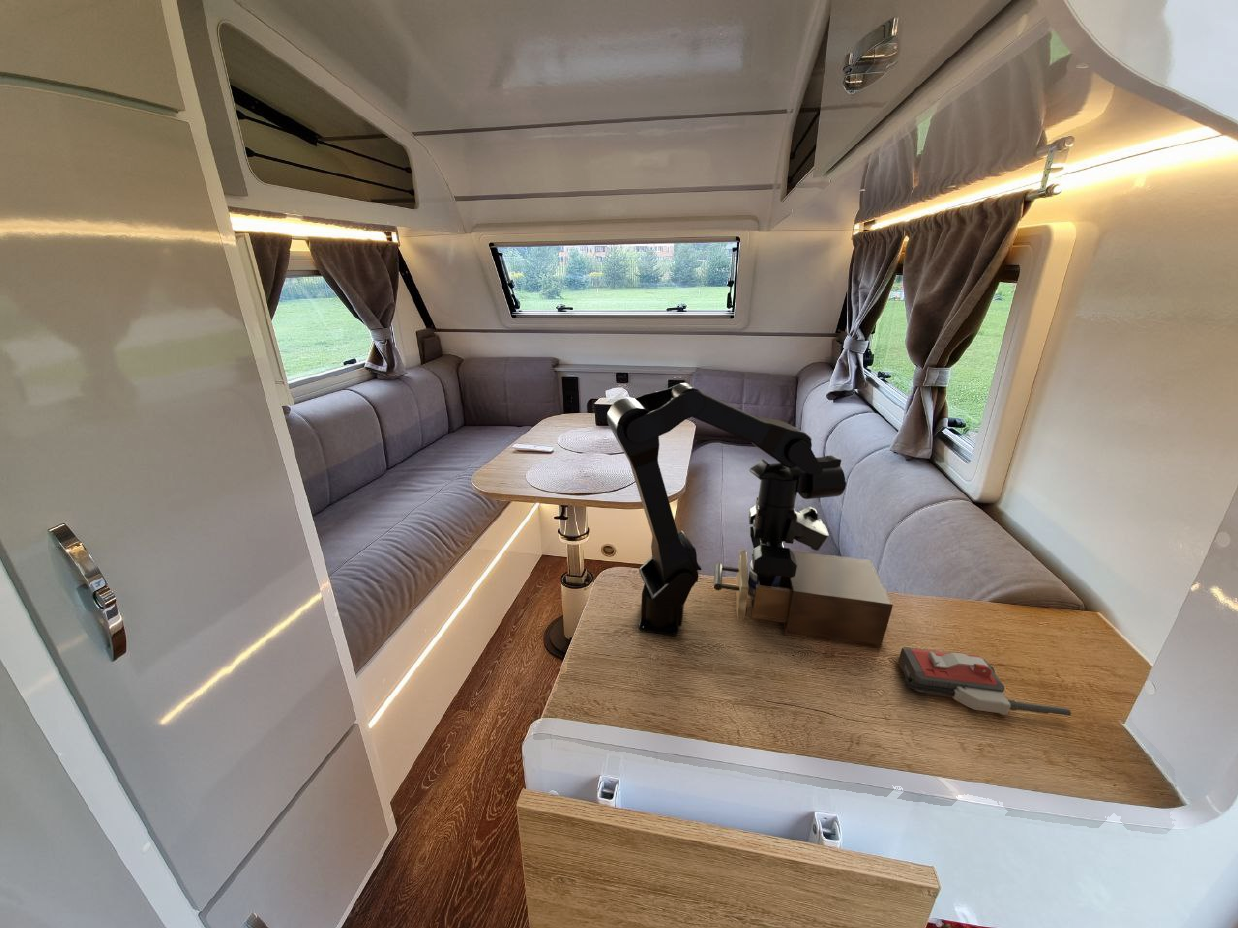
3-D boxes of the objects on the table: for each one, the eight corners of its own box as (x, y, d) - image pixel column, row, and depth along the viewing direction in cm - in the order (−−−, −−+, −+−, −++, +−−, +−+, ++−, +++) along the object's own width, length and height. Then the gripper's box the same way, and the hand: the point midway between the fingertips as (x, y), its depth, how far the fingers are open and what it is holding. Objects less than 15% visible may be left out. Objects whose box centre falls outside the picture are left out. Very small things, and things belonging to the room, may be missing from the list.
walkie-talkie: (910, 704, 66) (1072, 726, 63) (918, 680, 64) (1084, 702, 61) (887, 657, 74) (1030, 675, 71) (894, 635, 72) (1040, 652, 69)
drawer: (711, 615, 81) (714, 582, 78) (713, 577, 91) (716, 546, 89) (821, 632, 77) (828, 598, 75) (810, 590, 88) (816, 559, 85)
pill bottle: (779, 589, 85) (786, 547, 82) (775, 607, 81) (783, 562, 77) (749, 582, 87) (755, 540, 84) (744, 598, 82) (750, 555, 79)
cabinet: (785, 633, 78) (793, 591, 75) (778, 588, 90) (784, 549, 87) (880, 648, 76) (893, 604, 72) (860, 599, 87) (870, 559, 84)
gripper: (841, 534, 67) (822, 622, 73) (818, 482, 84) (804, 557, 90) (760, 524, 69) (747, 611, 75) (754, 476, 86) (744, 549, 92)
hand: (763, 580), depth 83 cm, fingers closed on pill bottle, 5 cm apart
